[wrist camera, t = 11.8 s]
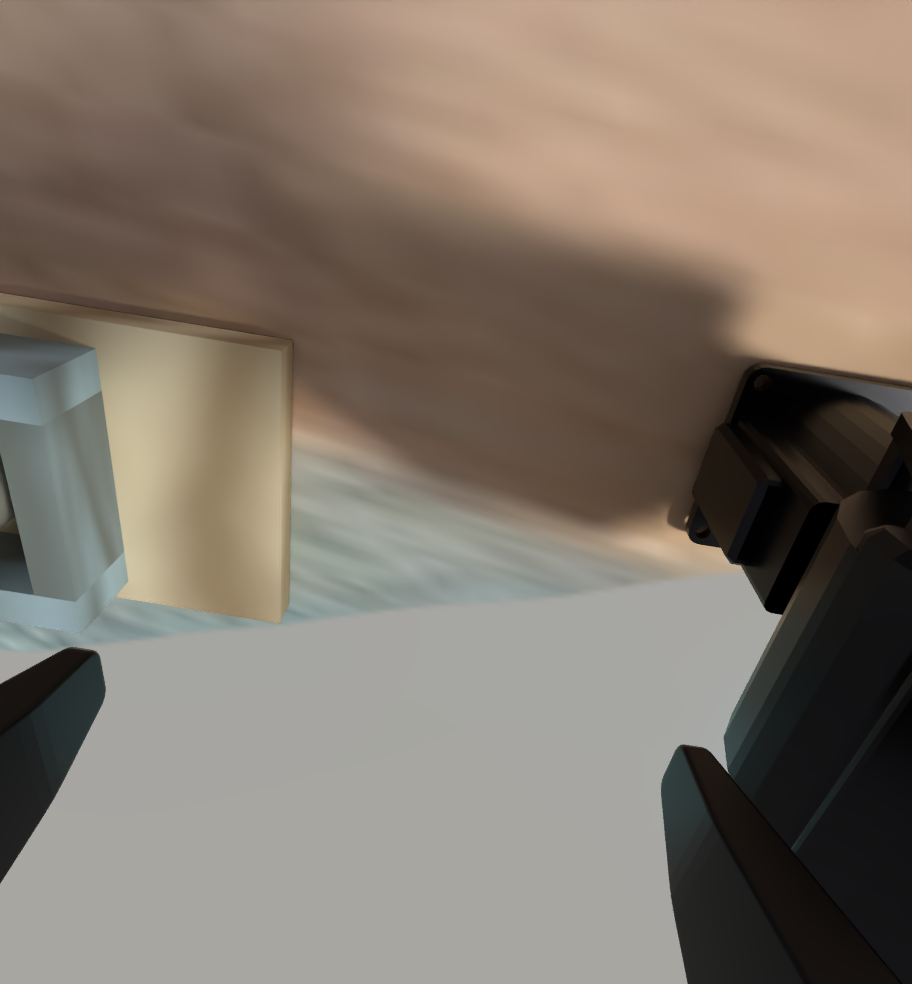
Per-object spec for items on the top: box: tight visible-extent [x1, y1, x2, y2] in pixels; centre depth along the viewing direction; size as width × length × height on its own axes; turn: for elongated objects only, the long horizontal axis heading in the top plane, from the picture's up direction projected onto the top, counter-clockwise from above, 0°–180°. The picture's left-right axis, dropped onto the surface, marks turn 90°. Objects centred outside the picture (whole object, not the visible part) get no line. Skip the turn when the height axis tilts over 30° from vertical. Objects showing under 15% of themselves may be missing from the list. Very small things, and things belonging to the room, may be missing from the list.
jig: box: [0, 293, 293, 634], centre depth 21 cm, size 16×11×4 cm
